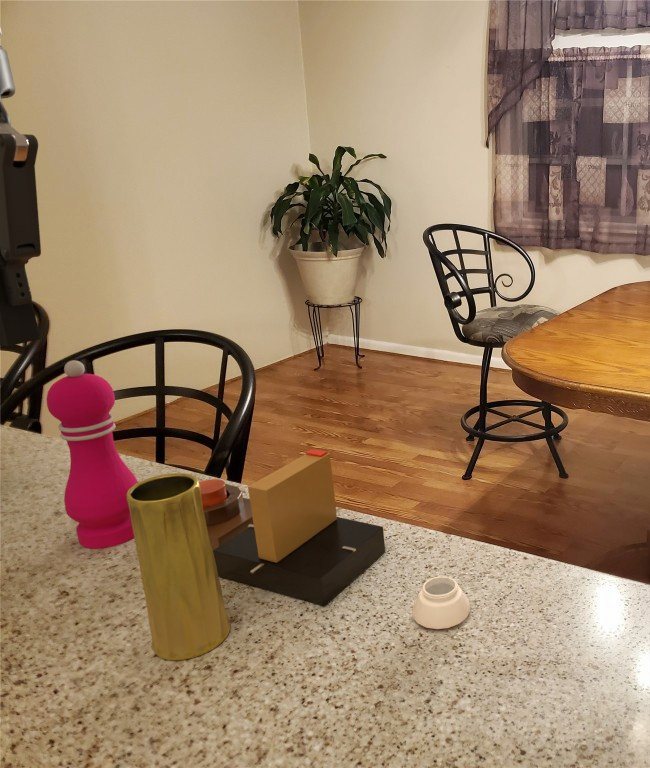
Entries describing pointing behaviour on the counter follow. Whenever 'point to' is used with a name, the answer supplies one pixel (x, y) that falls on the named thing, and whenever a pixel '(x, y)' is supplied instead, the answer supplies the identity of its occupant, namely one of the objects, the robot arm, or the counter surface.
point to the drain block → (228, 517)
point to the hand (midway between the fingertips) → (19, 341)
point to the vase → (177, 567)
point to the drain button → (212, 492)
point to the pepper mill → (92, 458)
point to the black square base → (305, 561)
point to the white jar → (440, 604)
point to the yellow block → (292, 505)
